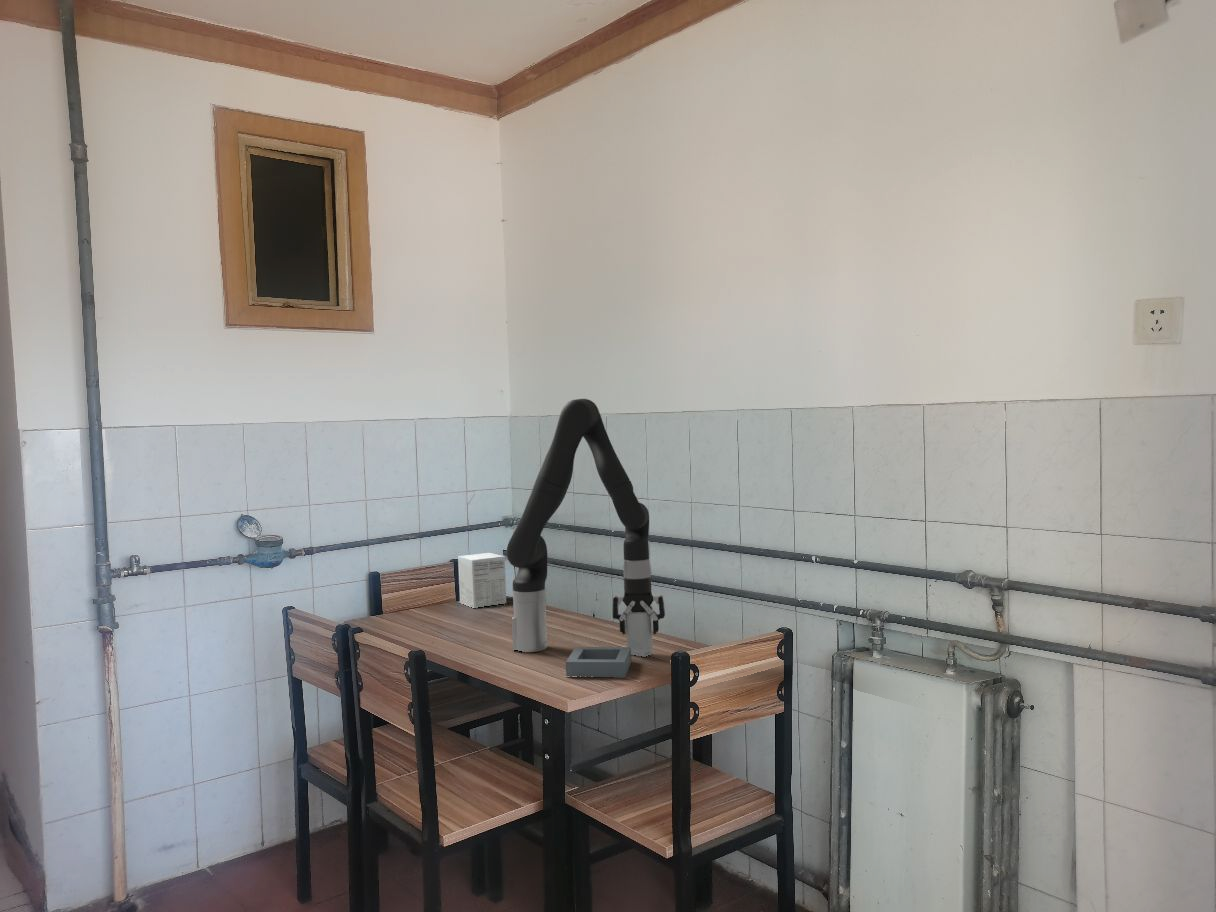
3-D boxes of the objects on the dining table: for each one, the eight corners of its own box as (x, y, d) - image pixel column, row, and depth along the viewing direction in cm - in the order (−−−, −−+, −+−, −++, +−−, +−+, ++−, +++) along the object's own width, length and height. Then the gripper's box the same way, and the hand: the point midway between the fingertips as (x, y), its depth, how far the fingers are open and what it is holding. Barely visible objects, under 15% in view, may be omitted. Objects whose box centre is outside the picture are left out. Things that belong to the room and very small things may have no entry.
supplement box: (507, 604, 326) (505, 556, 325) (473, 609, 319) (471, 560, 319) (492, 598, 337) (490, 552, 337) (458, 603, 330) (457, 555, 330)
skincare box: (653, 654, 250) (652, 610, 250) (644, 658, 247) (642, 613, 246) (635, 651, 254) (633, 608, 254) (625, 655, 250) (624, 611, 250)
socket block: (566, 677, 230) (565, 661, 230) (576, 661, 245) (575, 647, 245) (624, 677, 228) (624, 662, 228) (631, 661, 243) (630, 647, 243)
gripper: (609, 578, 247) (612, 637, 247) (662, 577, 245) (664, 636, 245) (613, 573, 254) (615, 630, 255) (664, 572, 252) (666, 630, 253)
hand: (639, 633), depth 250 cm, fingers open, 8 cm apart
